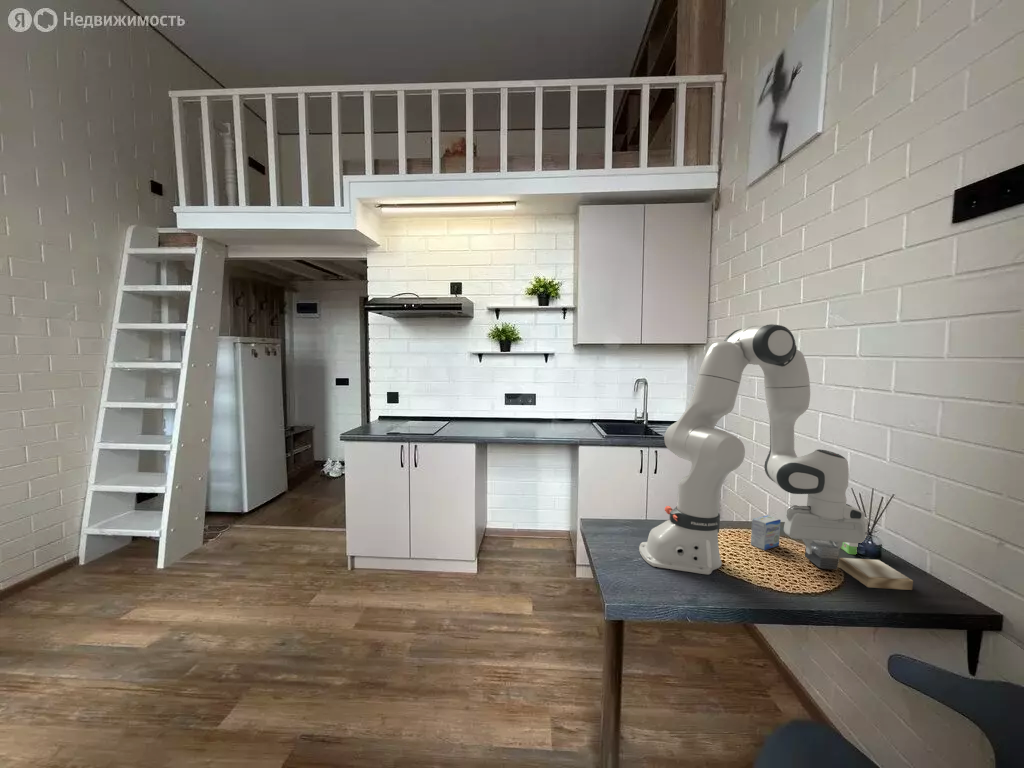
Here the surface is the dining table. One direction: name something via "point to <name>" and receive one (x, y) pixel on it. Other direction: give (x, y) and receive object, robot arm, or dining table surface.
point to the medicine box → (765, 532)
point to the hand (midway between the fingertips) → (821, 554)
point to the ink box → (852, 547)
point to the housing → (824, 554)
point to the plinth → (875, 573)
